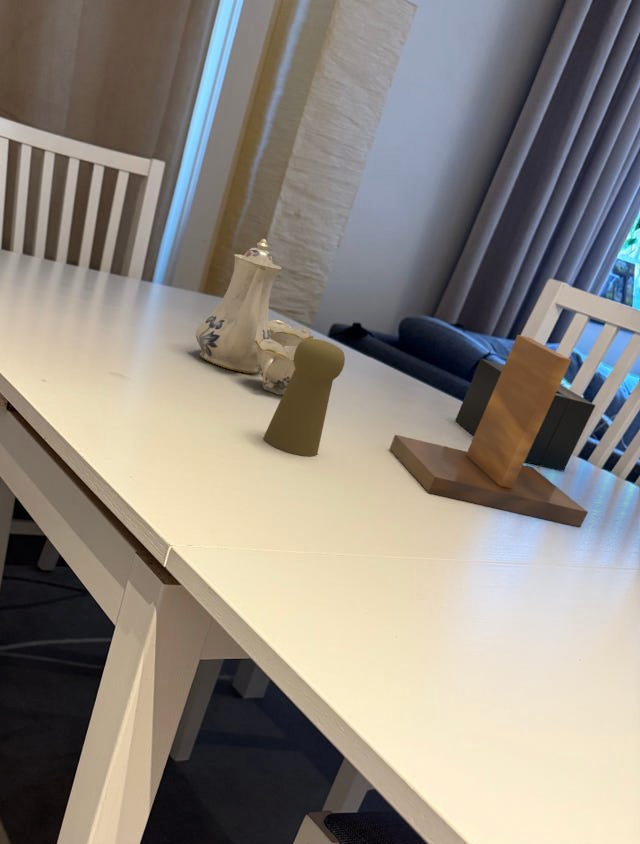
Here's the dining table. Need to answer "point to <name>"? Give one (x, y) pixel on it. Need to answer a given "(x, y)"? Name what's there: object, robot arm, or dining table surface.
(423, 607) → the dining table surface
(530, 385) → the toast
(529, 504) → the breadboard
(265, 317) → the chinaware
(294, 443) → the cork
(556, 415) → the grooved black box
